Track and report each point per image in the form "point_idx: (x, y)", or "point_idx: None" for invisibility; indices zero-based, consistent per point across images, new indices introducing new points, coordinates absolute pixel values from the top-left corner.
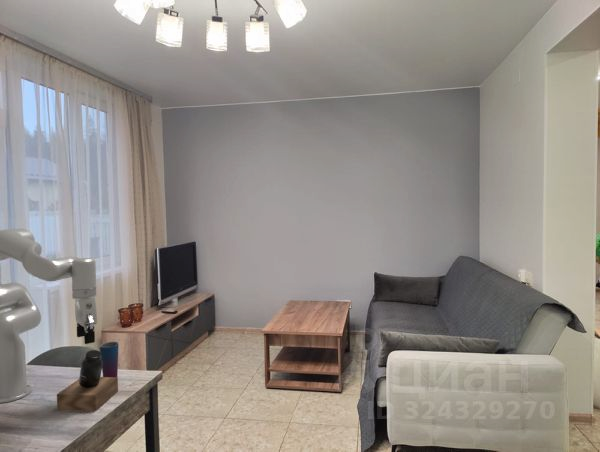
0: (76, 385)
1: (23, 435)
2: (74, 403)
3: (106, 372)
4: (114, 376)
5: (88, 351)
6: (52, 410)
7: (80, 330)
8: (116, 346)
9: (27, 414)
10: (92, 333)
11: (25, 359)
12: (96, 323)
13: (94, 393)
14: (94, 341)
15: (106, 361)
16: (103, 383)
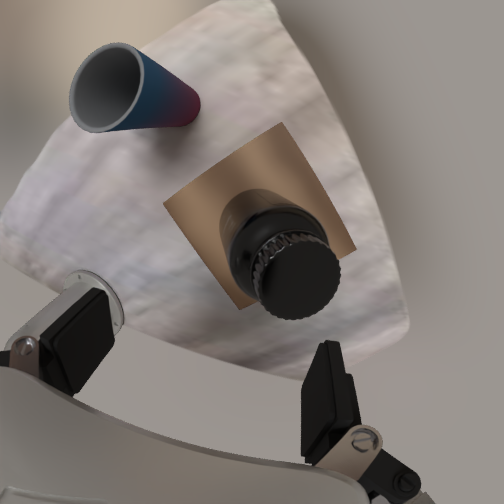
0: (222, 249)
1: (301, 361)
2: None
3: (177, 120)
4: (194, 97)
5: (262, 301)
6: None
7: (87, 359)
8: (145, 60)
9: (211, 328)
10: (359, 423)
11: (44, 323)
12: (354, 480)
13: (340, 244)
14: (337, 344)
15: (162, 116)
16: (289, 183)
